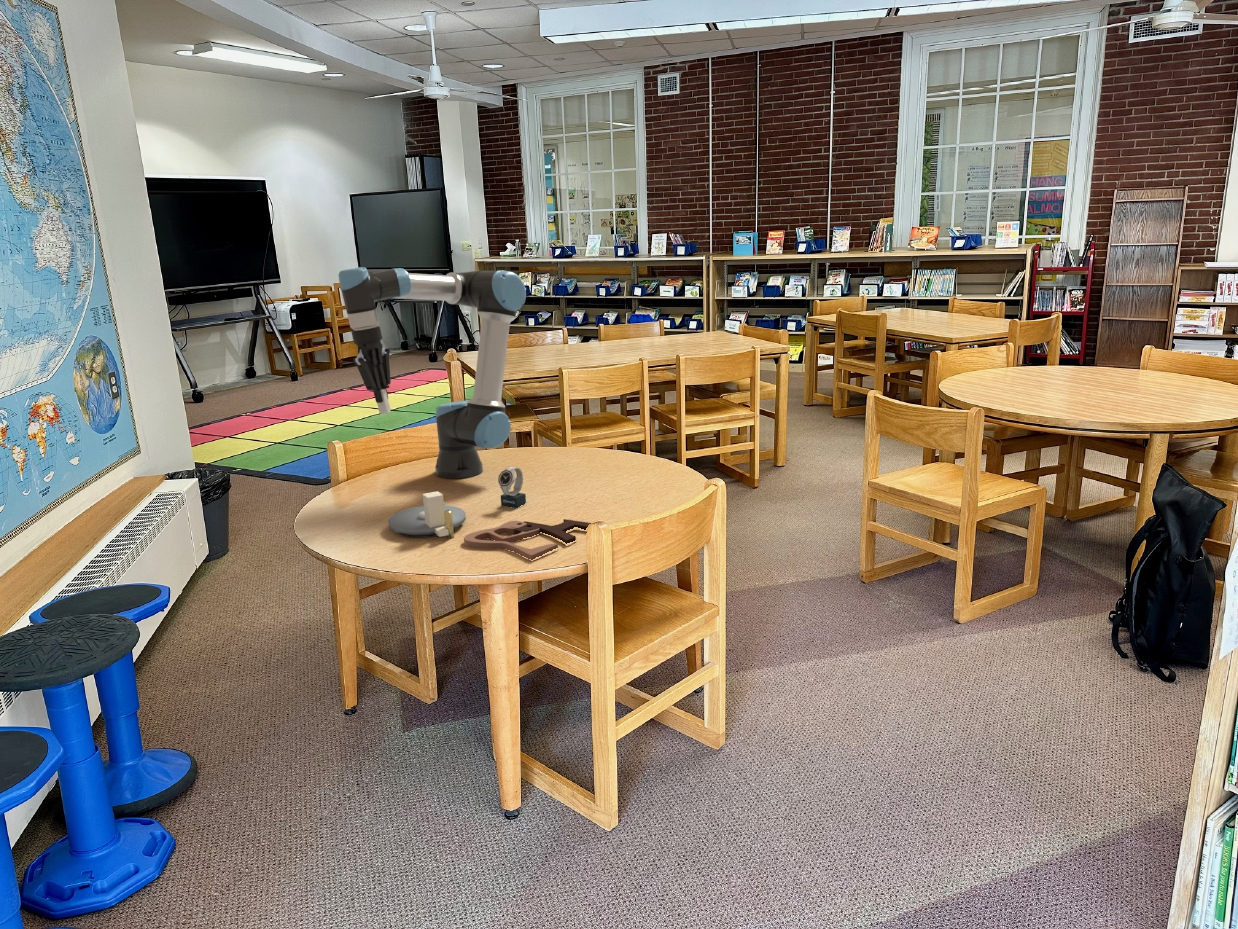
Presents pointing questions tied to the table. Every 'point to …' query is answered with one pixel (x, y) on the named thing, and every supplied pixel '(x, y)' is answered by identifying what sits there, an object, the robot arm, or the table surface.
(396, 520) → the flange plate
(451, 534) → the gold domed cylinder
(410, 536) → the turntable base
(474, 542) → the wood carving
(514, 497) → the watch
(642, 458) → the table surface
